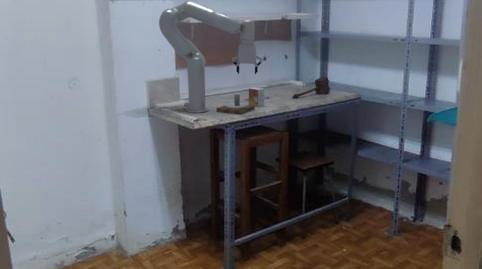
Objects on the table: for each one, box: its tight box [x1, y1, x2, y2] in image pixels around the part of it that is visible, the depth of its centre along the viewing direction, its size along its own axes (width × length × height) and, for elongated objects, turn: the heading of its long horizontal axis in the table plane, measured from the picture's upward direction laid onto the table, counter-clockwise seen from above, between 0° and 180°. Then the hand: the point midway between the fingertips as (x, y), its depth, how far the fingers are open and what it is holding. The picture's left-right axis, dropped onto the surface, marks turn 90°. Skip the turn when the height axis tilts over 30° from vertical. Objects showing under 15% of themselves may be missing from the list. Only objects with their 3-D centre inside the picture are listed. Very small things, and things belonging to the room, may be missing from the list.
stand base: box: [216, 104, 256, 115], centre depth 284 cm, size 16×16×2 cm
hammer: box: [291, 76, 331, 99], centre depth 328 cm, size 7×33×10 cm, turn 130°
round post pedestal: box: [224, 94, 247, 109], centre depth 282 cm, size 12×12×8 cm
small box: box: [248, 87, 265, 108], centre depth 296 cm, size 8×6×10 cm
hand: (246, 73), depth 278 cm, fingers open, 9 cm apart
